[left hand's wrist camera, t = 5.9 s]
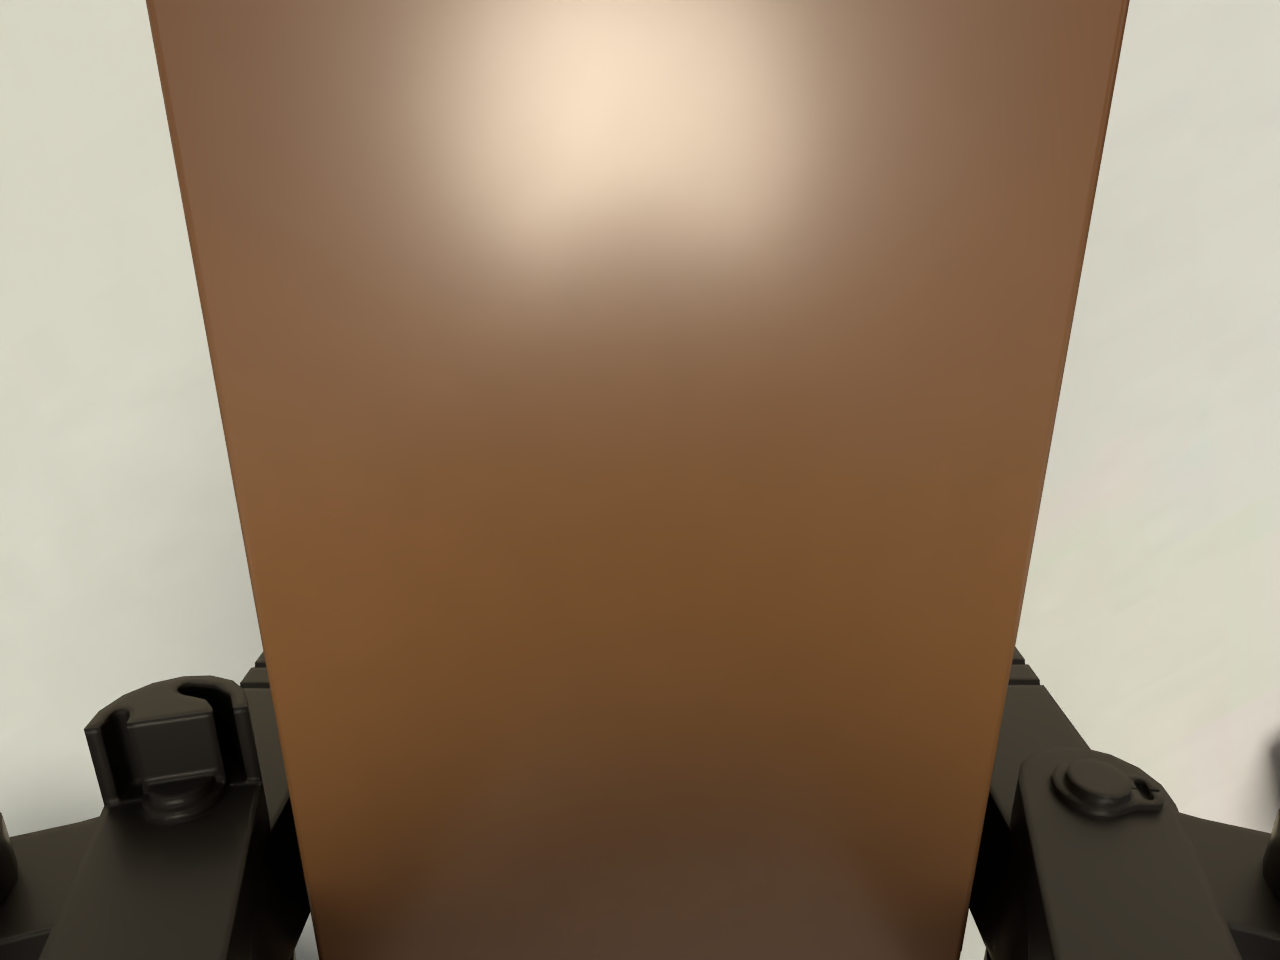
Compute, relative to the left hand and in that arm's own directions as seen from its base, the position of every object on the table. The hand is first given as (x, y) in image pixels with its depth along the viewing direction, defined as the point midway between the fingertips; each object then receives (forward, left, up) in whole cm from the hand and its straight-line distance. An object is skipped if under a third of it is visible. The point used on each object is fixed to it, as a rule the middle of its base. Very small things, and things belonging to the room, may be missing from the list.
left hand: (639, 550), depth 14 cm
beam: (+23, +10, -1) cm, 26 cm away
